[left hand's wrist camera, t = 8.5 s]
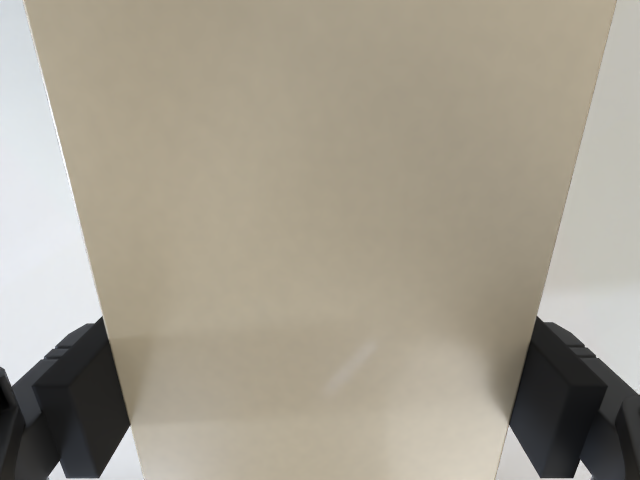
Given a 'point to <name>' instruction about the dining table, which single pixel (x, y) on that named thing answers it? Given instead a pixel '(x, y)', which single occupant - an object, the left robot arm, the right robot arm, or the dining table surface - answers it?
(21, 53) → the dining table surface
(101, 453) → the left robot arm
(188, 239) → the cabinet
